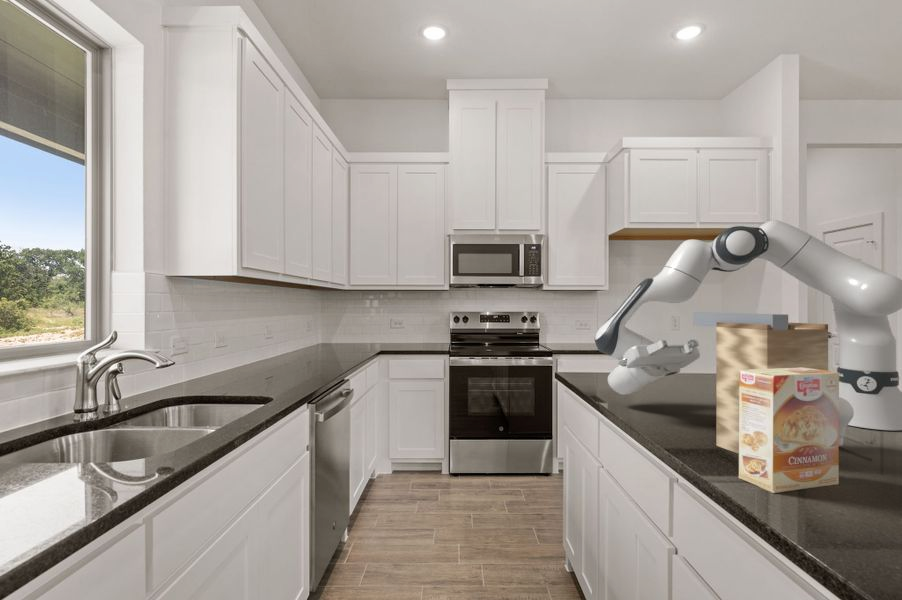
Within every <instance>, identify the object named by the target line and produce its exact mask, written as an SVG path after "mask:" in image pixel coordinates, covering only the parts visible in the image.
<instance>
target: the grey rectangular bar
mask: <svg viewBox="0 0 902 600" xmlns="http://www.w3.org/2000/svg"><path fill="white" fill-rule="evenodd" d="M692 314H693V315H692V317H693V318H692V319H693V320H692V325H693V326H700V327H701V326H702V327H715V328H716V322H722V323H743V324H763V325H771V330H788V323H789V314H787V313H786V314H783V313H782V314H777V313H774V314H773V313H745V312H744V313H741V312H740V313H738V312H734V313H733V312H692Z"/></svg>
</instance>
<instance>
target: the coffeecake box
mask: <svg viewBox="0 0 902 600" xmlns="http://www.w3.org/2000/svg"><path fill="white" fill-rule="evenodd" d="M739 372H740V384H739V454H738V479H740V480H741V481H745V482H747V483H750V484H751V485H754V486H756V487H758V488H760V489H763V490H764V491H768V492H770V493H773V494H777V493H784V492H793V491H799V490H806V489H813V488H820V487H826V486H827V487H828V486H835V485H836V486H837V485H839V484H840V481H839V479H840V478H839V477H840V476H839V474H840V473H839V472H840V471H839V470H840V468H839V467H840V465H839V464H840V463H839V462H840V461H839V460H840V459H839V457H840V455H839V454H840V451H839V450H840V449H839V447H840V446H839V374H840V373H838V372H837V371H832V370H828V371H827V370H820V369H811V368H803V367H800V368H776V369H748V370H739Z"/></svg>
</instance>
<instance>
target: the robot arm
mask: <svg viewBox="0 0 902 600" xmlns="http://www.w3.org/2000/svg"><path fill="white" fill-rule="evenodd" d="M755 259H761V260H765V261H766V262H771V264H773V265H775V266H776V267H778V268H779V269H781V270H782V271H784V272H786V273H787V274H789V275H790V276H792V277H793V278H795V279H796V280H798V281H799V282H801V283H802V284H805V285H806V286H808V287H810V288H813V289H815V290H817V291H819V292H821V293H823V294H825V295H828V296H829V297H830V301H831V302H832V305H833V312H834V318H835V319H834V320H835V324H836V327H837V328H836V329H837V333H838V350H839V351H838V354H839V355H838V356H839V357H838V361H839V362H838V367H837V369H836V372H838V373H840V374H839V397H840V398H843V399H845V400H846V401H848V402H849V403H850V404H851V406H852V407H853V410H854V415H853V418H852V419H851V421H850V422H849V424H848V425H847V426H852V427H857V428H864V429H871V430H880V431H902V391H901V390H900V389H899V387H898V386H899V385H900V382H899V381H900V376H899V372H898V371H897V339H896V338H895V336H894V333H893V332H892V328H891V325H890V321H889V317H888V316H889V315H891V314H895V313H897V312H898V311H900V310H902V279H901V278H899V277H897V276H894V275H893V274H891V273H888V272H885V271H883V270H881V269H878V268H877V267H875V266H874V265H873V266H872V265H871V264H869V263H866V262H864V261H862V260H860V259H857V258H855V257H852V256H850V255H847V254H845V253H843V252H841V251H840V250H837V249H836V248H835V247H832V246H830V245H829V244H827V243H825V242H823V241H822V240H820V239H818V238H816V237H815V236H813V235H811V234H810V233H808V232H806V231H805V230H803V229H800V228H798V227H795V226H793V225H791V224H788V223H786V222H784V221H781V220H777V219H776V220H775V219H772V220H769V221H766V222H764V223H762V224H761V225H760V226H759V227H755V226H744V225H735V226H731V227H728V228H727V229H724V230H723V231H721V233H720V234H719V235H717V237H715V238H714V240H713V241H710V242H704V241H703V240H699V239H694V238H693V239H686V240H685V241H682V243H681V244H680V245H679V246H678V247H677V248H676V249H675V251H674V252H673V253H672V255H671V256H670V257H669V259H668V260H667V262H666V263H665V265H664V266H663V268H662V270H661V271H660V272H659V273H658V274H656V275H655V276H654V277H652V278H649V277H647V278H645V279H643V280H642V281H641V282H640V283H639V284H638V285H637V286H636V287H635V288H634V289H633V290H632V291H631V293H630V294H629V295H628V296H627V297H626V299H625V300H623V302H622V303H621V304H620V305H619V306H618V308H617V309H616V310H615V312H613V314H612V315H611V316H610V317H609V318H608V319H607V320H606V321H605V322H604V323H603V325H601V326H600V327H599V329H598V330H597V331H596V333H595V336H594V342H595V346H596V349H598V351H599V352H600V353H602V354H605V355H607V356H609V357H612V358H615V359H616V360H618V364H617V366H616V367H615V368H614V369H612V371H611V372H610V373H609V374H608V376H607V383H608V385H609V387H610V388H611V389H612V390H613V391H614V392H616V393H618V394H619V395H630V394H633V393H634V392H637V391H639V390H640V389H643V388H644V387H645V386H646V385H647V384H650V383H652V382H654V381H656V380H659V379H661V378H663V377H668V376H673V375H676V374H679V373H680V372H681V369H683V368H685V367H688V366H689V365H690V364H693V362H695V361H697V360H698V359H699V358H700V356H701V353H700V350H699V348H698V347H699V345H700V343H699V341H698V339H690V340H689V341H687V343H684V344H683V343H682V344H669V343H667V340H658V342H654V341H652V340H650V339H649V338H647V337H645V336H643V335H641V334H638V333H637V332H635V331H633V330H631V329H629V328H627V327H626V324H627V323H628V322H629V320H630V319H631V318H632V317H633V316H634V315H635V313H636V312H637V311H638V310H639V309H640V308H641V306H642V305H644V304H646V303H648V302H659V303H666V304H667V303H668V304H669V303H670V304H680V303H684V302H686V301H688V300H690V299H692V297H694V295H695V293H697V291H698V290H699V287H700V286H701V285H702V283H703V281H704V279H705V277H706V276H707V274H709V272H710V271H711V270H713V271H719V272H728V273H729V272H730V273H731V272H735V271H739V270H740V269H743V268H744V267H746V266H748V265H749V264H750V263H751V262H752V261H753V260H755Z"/></svg>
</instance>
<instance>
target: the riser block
mask: <svg viewBox="0 0 902 600" xmlns="http://www.w3.org/2000/svg"><path fill="white" fill-rule="evenodd" d="M715 328H716V331H715V332H716V333H715V334H716V335H715V336H716V337H715V338H716V339H715V340H716V343H715V345H716V346H715V347H716V349H715V350H716V354H715V355H716V358H715V359H716V379H715V380H716V388H715V390H716V394H715V395H716V408H715V409H716V420H715V421H716V423H715V424H716V426H715V427H716V447H719V448H722V449H724V450H728V451H731V452H733V453H736V454H738V455H739V384H740V372H739V370H748V369H776V368H800V367H803V368H811V369H820V370H827V371H829V323H807V322H805V323H804V322H788V330H771V325H763V324H743V323H722V322H716V327H715Z"/></svg>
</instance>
